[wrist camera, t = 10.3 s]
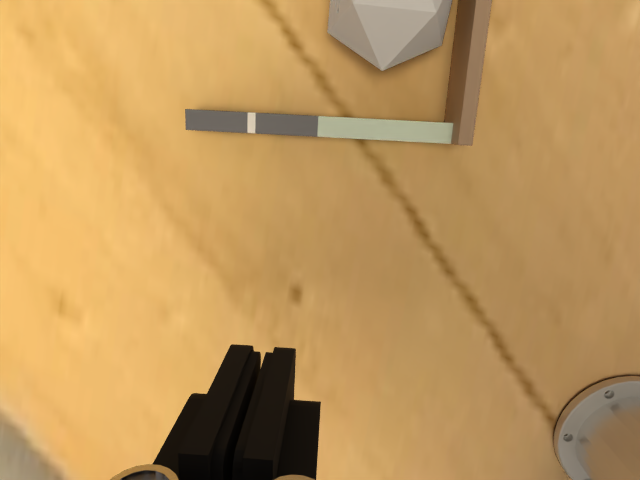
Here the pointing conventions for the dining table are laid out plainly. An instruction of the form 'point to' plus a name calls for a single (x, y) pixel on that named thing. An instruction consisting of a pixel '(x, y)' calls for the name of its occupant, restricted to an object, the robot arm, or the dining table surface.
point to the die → (389, 28)
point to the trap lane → (453, 130)
